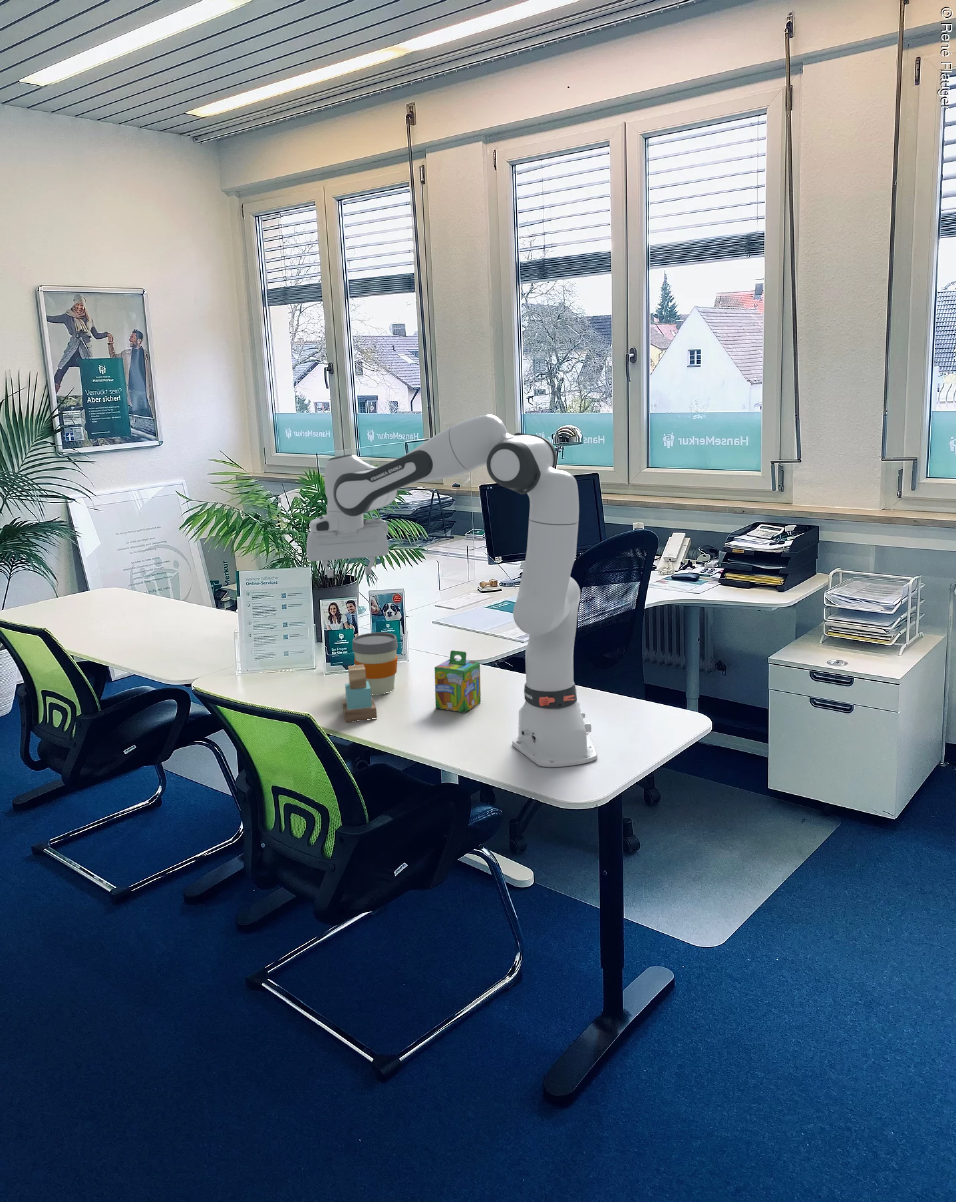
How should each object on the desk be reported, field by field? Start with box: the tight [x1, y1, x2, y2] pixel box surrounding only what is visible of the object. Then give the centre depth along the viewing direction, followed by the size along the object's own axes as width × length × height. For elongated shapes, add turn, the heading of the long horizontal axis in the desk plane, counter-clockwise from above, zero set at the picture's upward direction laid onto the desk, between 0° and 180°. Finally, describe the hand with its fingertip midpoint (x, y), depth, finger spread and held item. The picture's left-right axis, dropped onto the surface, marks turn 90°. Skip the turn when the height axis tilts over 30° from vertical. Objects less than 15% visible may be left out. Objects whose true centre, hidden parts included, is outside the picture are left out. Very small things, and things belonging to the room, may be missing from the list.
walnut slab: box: [341, 697, 378, 723], centre depth 248 cm, size 8×8×3 cm
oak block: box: [347, 664, 367, 689], centre depth 246 cm, size 4×4×5 cm
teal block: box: [344, 681, 372, 710], centre depth 247 cm, size 6×6×5 cm
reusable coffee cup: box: [351, 632, 399, 696], centre depth 266 cm, size 13×13×15 cm
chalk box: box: [434, 650, 482, 713], centre depth 251 cm, size 9×9×15 cm
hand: (349, 575), depth 240 cm, fingers open, 8 cm apart
